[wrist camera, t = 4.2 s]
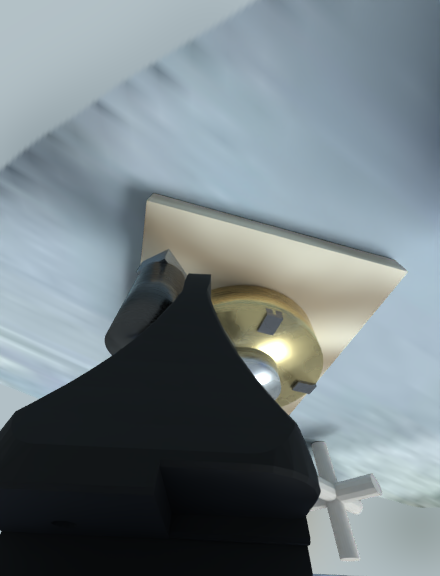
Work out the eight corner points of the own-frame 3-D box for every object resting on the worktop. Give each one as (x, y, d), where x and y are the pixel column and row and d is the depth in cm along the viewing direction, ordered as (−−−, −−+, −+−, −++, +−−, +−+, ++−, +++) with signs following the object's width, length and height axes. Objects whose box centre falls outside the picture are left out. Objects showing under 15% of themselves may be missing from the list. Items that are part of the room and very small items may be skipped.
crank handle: (328, 365, 20) (372, 474, 14) (210, 397, 23) (204, 498, 17) (254, 187, 13) (281, 256, 6) (92, 270, 16) (4, 371, 9)
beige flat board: (153, 193, 14) (145, 201, 13) (394, 259, 16) (410, 273, 15) (133, 376, 24) (127, 392, 23) (284, 403, 26) (287, 419, 25)
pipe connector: (374, 445, 32) (426, 562, 23) (308, 466, 36) (332, 571, 28) (332, 415, 28) (376, 542, 19) (263, 443, 32) (275, 556, 24)
